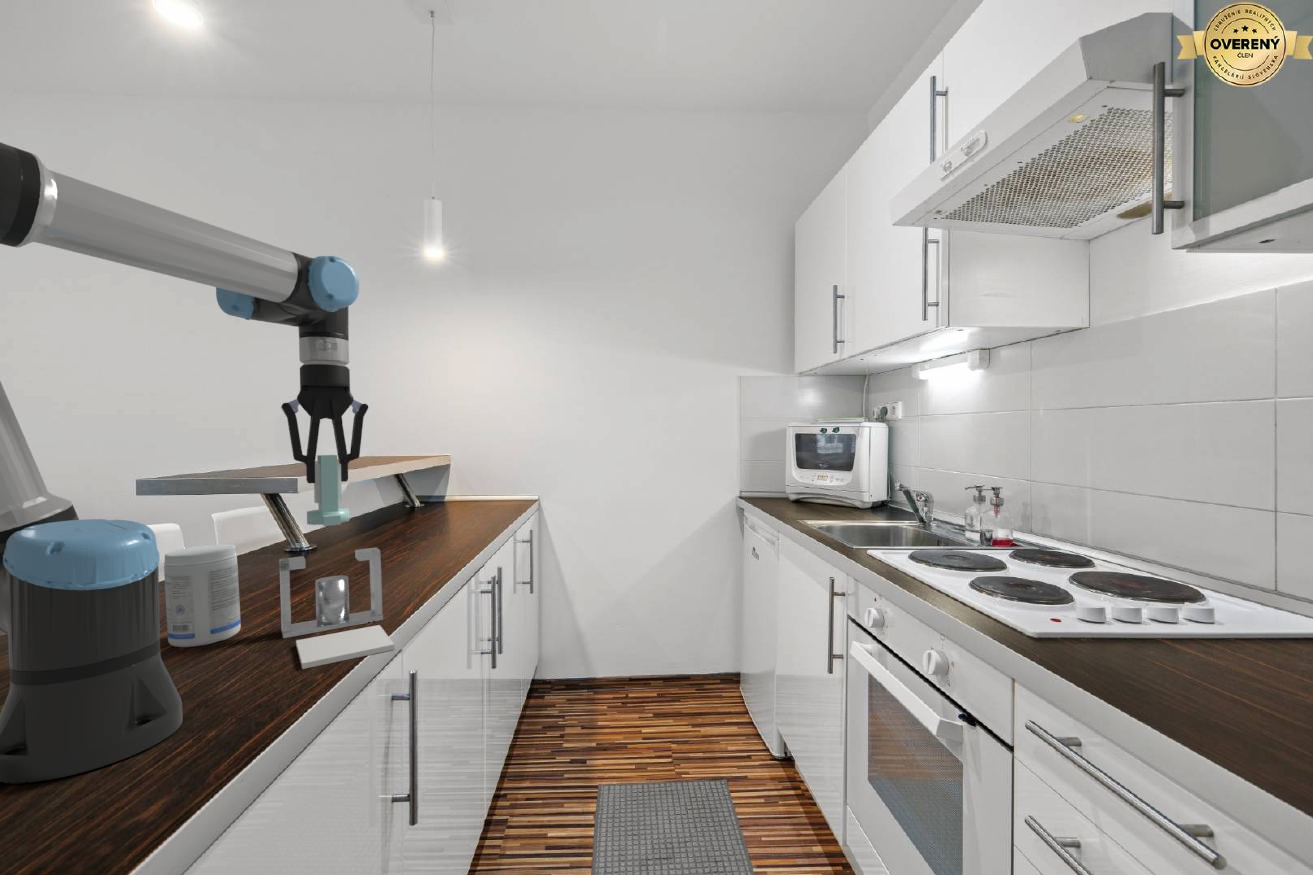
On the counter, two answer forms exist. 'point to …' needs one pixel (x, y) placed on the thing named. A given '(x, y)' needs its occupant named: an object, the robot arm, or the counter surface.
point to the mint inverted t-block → (328, 495)
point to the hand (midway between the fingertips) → (328, 501)
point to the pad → (343, 646)
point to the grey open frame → (331, 597)
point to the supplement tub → (202, 595)
